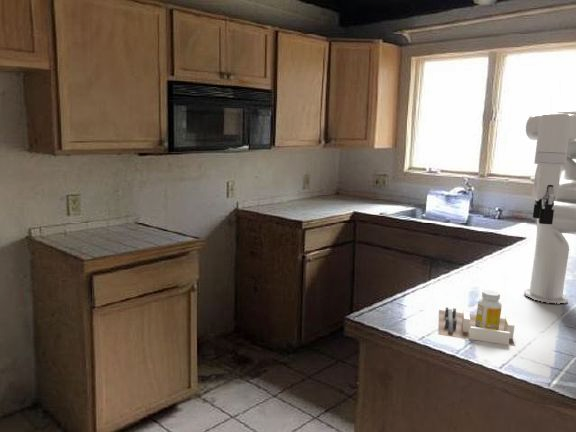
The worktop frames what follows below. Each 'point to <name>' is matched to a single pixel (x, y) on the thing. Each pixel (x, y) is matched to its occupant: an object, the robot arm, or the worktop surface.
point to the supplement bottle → (489, 310)
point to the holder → (489, 331)
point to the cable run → (450, 320)
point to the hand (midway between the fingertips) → (542, 220)
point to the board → (458, 331)
